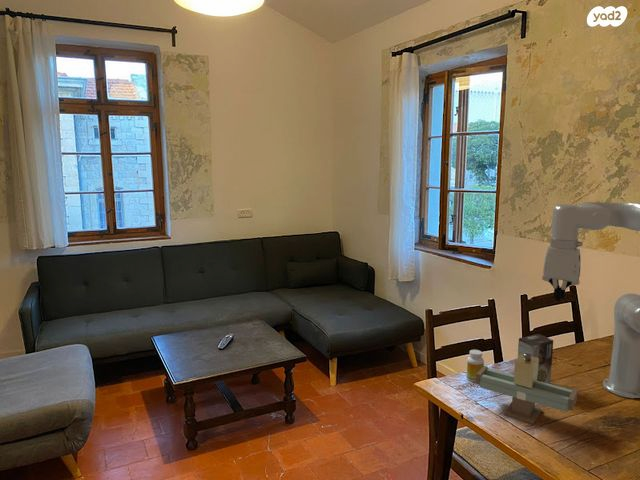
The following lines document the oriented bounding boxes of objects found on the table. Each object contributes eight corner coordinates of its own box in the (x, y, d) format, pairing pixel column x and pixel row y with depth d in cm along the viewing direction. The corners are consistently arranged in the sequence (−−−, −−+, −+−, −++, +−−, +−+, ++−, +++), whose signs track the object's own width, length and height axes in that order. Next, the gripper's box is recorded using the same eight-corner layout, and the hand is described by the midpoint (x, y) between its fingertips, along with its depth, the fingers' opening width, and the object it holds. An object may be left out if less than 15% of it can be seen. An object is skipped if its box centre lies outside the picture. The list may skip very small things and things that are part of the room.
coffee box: (535, 378, 164) (538, 333, 161) (550, 386, 158) (554, 340, 155) (514, 383, 161) (517, 337, 158) (530, 391, 155) (533, 344, 152)
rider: (536, 385, 142) (539, 352, 140) (531, 393, 137) (534, 360, 135) (518, 380, 145) (521, 348, 143) (513, 388, 140) (515, 355, 138)
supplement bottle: (483, 383, 161) (485, 355, 159) (467, 381, 162) (468, 354, 160) (481, 375, 166) (483, 349, 164) (465, 374, 167) (466, 348, 165)
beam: (575, 420, 138) (578, 388, 136) (569, 435, 131) (572, 401, 129) (483, 393, 154) (485, 364, 152) (473, 405, 147) (475, 375, 145)
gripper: (592, 244, 149) (587, 301, 153) (540, 239, 158) (536, 293, 162) (588, 248, 144) (583, 307, 147) (535, 243, 152) (531, 299, 156)
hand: (558, 300), depth 154 cm, fingers closed
